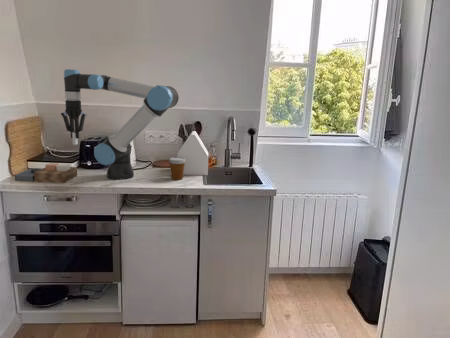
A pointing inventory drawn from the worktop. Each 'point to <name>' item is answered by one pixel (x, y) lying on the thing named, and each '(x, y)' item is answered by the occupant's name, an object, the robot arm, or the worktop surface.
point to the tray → (26, 175)
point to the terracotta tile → (51, 166)
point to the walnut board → (55, 175)
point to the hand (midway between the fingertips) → (75, 144)
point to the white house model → (194, 156)
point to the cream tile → (63, 167)
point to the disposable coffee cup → (177, 167)
